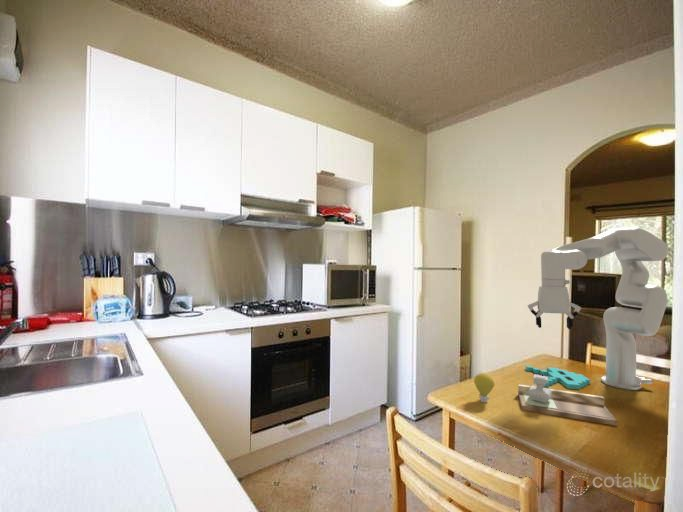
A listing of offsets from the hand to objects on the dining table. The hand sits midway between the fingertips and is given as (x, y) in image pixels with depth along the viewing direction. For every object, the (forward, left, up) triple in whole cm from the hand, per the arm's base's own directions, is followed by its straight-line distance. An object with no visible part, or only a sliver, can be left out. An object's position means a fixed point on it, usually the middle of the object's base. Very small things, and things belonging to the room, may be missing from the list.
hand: (554, 327), depth 126 cm
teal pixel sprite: (-5, -18, -26) cm, 32 cm away
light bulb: (+25, +18, -25) cm, 40 cm away
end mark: (+7, +14, -24) cm, 28 cm away
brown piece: (0, +14, -25) cm, 29 cm away
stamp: (+6, +13, -24) cm, 28 cm away
